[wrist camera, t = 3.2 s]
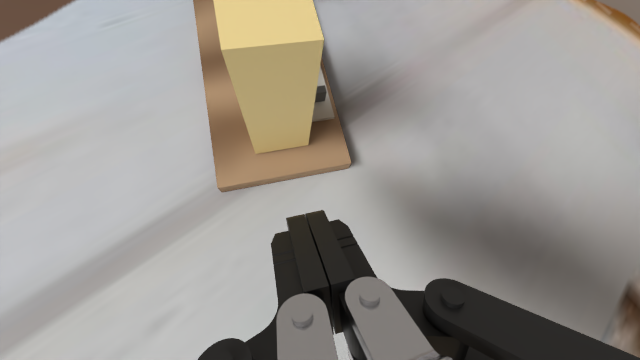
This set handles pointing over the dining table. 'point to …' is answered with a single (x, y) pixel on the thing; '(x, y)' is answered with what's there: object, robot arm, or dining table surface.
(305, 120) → the block
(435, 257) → the dining table surface
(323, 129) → the base
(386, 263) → the dining table surface
